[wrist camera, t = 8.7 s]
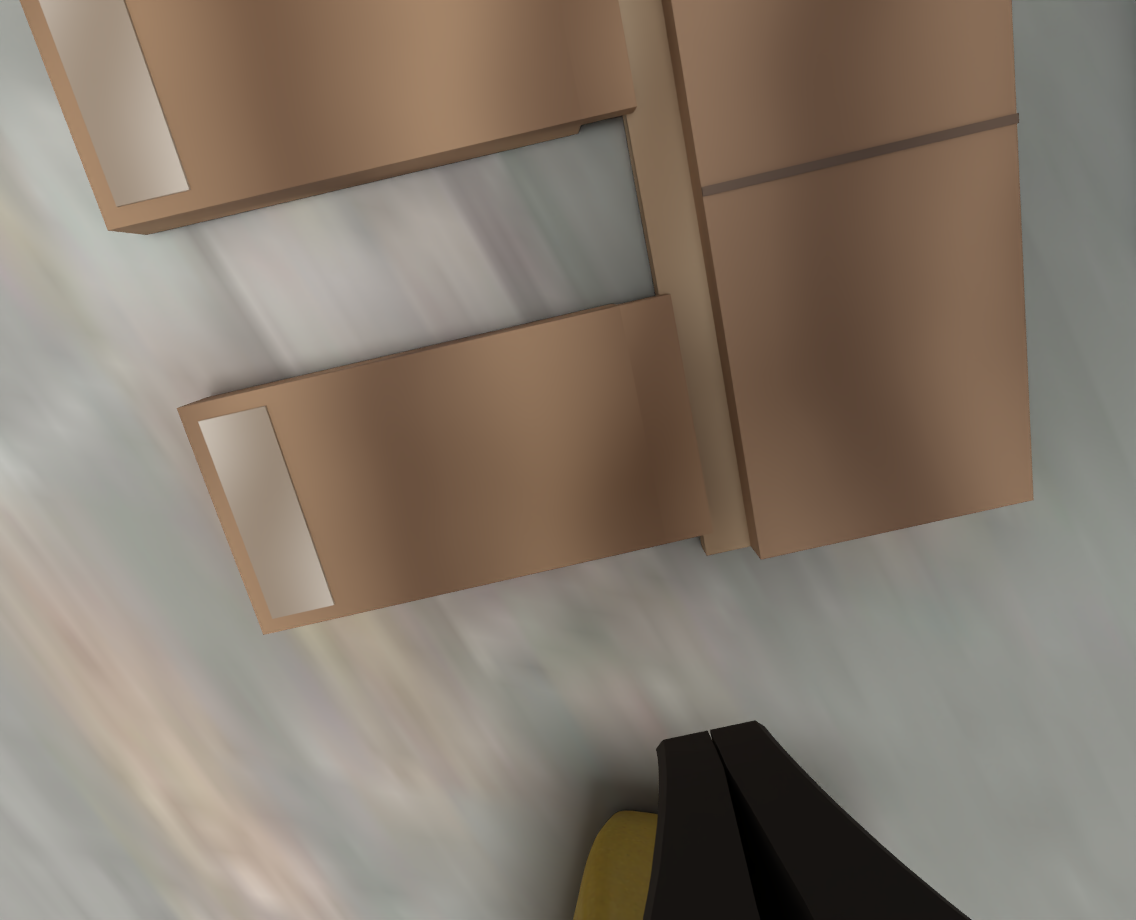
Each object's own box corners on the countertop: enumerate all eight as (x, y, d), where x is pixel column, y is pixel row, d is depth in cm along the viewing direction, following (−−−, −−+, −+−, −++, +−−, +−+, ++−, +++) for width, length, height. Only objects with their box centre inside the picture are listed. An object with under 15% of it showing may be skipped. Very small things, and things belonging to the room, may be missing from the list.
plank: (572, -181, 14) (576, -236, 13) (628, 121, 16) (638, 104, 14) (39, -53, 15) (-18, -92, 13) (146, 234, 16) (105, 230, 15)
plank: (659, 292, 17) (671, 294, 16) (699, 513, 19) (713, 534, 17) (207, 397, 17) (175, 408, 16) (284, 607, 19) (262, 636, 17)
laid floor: (946, -335, 14) (996, -410, 12) (995, 482, 19) (1035, 500, 17) (557, -237, 14) (558, -298, 13) (701, 546, 19) (715, 570, 17)
